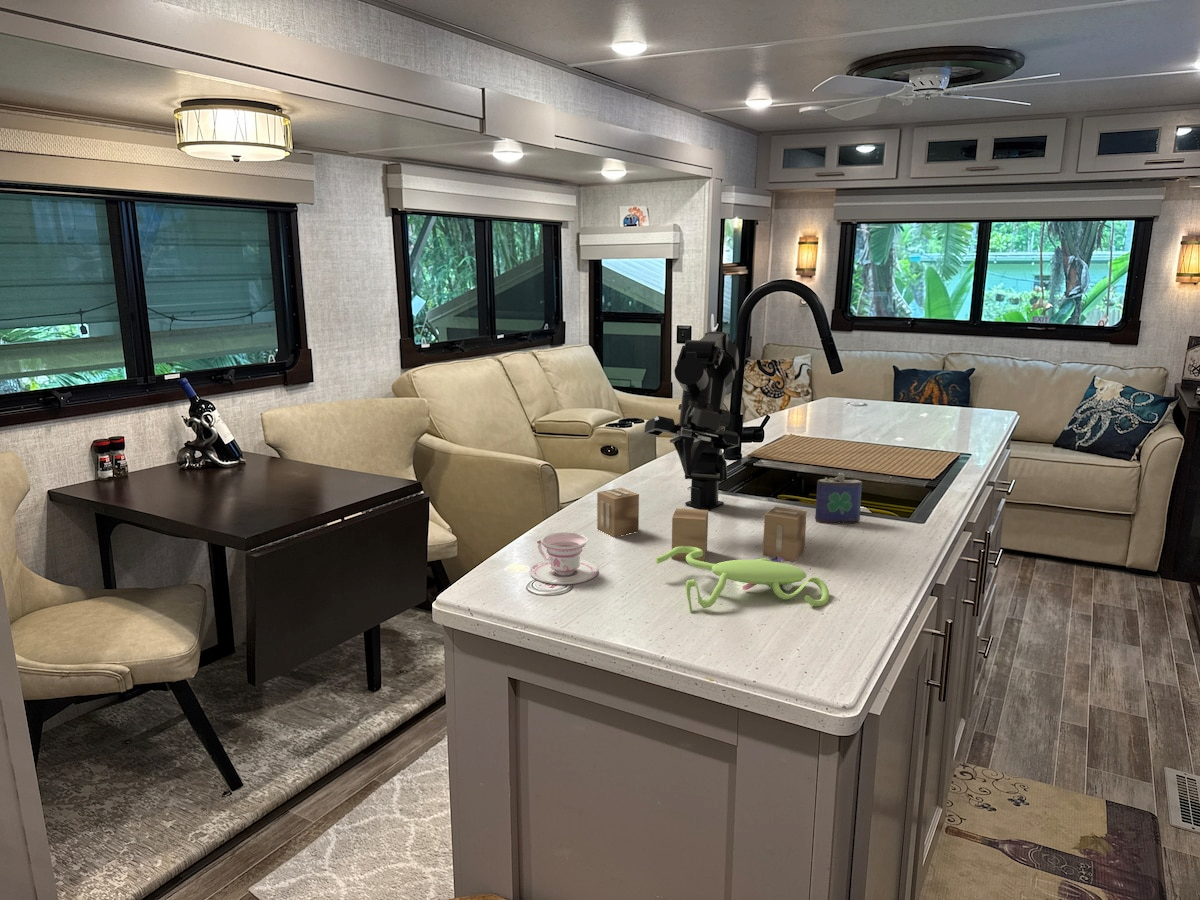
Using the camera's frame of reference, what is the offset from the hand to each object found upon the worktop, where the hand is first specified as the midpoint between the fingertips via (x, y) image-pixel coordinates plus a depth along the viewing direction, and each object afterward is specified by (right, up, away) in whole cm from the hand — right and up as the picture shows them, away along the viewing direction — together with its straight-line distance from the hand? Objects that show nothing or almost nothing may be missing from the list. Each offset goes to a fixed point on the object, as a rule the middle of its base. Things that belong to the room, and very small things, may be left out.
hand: (687, 475), depth 163 cm
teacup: (-24, -17, -19) cm, 35 cm away
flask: (+32, -10, +9) cm, 35 cm away
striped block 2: (+17, -14, -10) cm, 24 cm away
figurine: (+5, -19, -26) cm, 33 cm away
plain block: (-1, -15, -10) cm, 18 cm away
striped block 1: (-14, -11, +3) cm, 18 cm away
